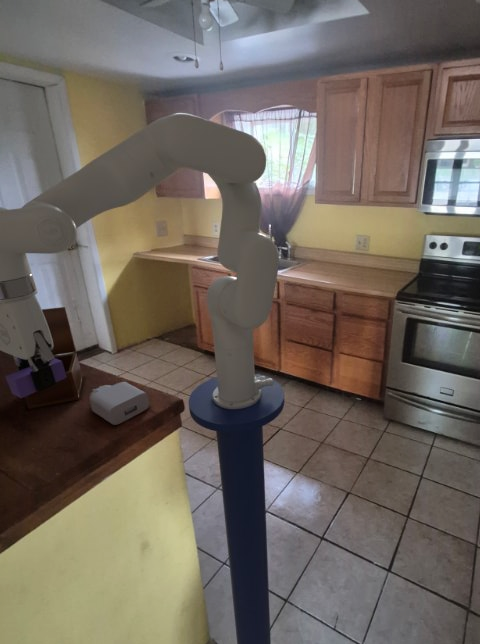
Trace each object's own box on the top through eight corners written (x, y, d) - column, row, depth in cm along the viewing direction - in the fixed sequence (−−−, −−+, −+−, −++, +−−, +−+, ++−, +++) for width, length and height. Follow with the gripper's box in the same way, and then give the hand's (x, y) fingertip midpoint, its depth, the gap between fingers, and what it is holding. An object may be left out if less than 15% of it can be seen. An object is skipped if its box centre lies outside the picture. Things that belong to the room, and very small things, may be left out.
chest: (79, 399, 92) (71, 372, 89) (28, 409, 88) (19, 380, 85) (83, 378, 102) (76, 352, 99) (37, 385, 98) (29, 359, 95)
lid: (64, 307, 94) (66, 302, 97) (14, 313, 90) (18, 307, 93) (75, 351, 99) (77, 345, 102) (28, 358, 95) (32, 351, 98)
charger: (115, 388, 97) (149, 407, 89) (79, 404, 90) (113, 427, 82) (112, 372, 95) (146, 391, 87) (75, 387, 88) (109, 409, 81)
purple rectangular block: (57, 373, 71) (52, 357, 70) (67, 377, 70) (61, 360, 69) (12, 394, 65) (5, 376, 63) (21, 398, 64) (14, 380, 62)
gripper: (-45, 287, 60) (-6, 383, 68) (8, 302, 53) (45, 408, 61) (6, 276, 67) (36, 366, 74) (60, 288, 59) (88, 386, 67)
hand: (40, 384), depth 67 cm, fingers closed on purple rectangular block, 3 cm apart
